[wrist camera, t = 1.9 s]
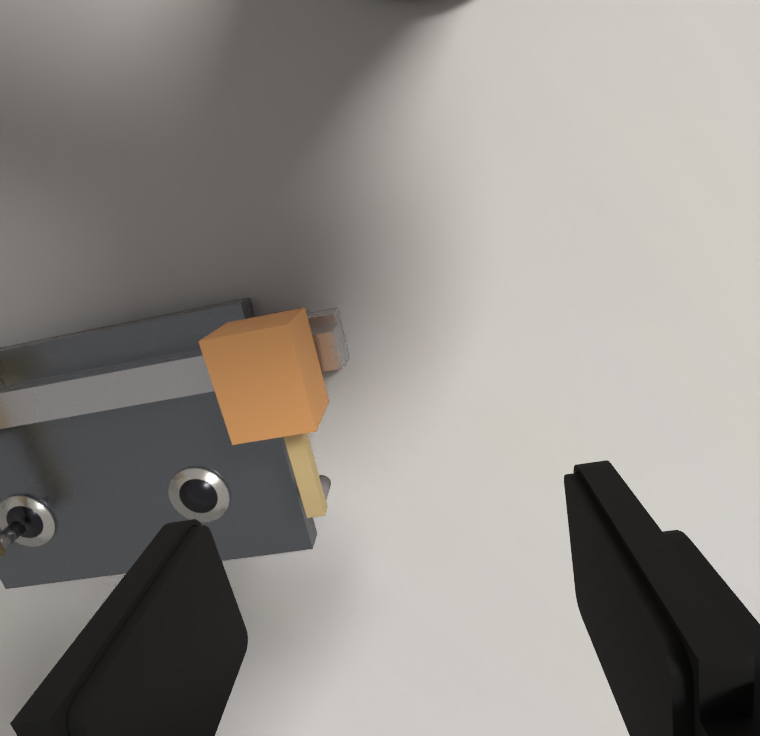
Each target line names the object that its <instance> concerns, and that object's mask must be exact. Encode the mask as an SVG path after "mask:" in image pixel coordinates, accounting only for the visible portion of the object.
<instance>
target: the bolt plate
mask: <svg viewBox="0 0 760 736" xmlns="http://www.w3.org/2000/svg"><path fill="white" fill-rule="evenodd" d="M253 317H255V316H254V312H253V309H252V305H251V302H250V298H247V299H242V300H237V301H232V302H227V303H222V304H217V305H212V306H207V307H202V308H197V309H192V310H187V311H182V312H177V313H172V314H167V315H162V316H157V317H152V318H147V319H142V320H137V321H132V322H127V323H122V324H117V325H112V326H107V327H102V328H97V329H92V330H87V331H82V332H77V333H72V334H67V335H62V336H57V337H52V338H47V339H42V340H37V341H32V342H27V343H22V344H17V345H12V346H7V347H2V348H0V579H1V581H2V583H3V585H4V586H5V588H6V589H9V588H17V587H24V586H32V585H39V584H47V583H55V582H62V581H70V580H77V579H85V578H93V577H100V576H108V575H116V574H123V573H127V572H128V571H129V569H130V568H131V567H132V566H133V564H134V563H135V562H136V560H137V559H138V558H139V557H140V555H141V554H142V553H143V551H144V550H145V549H146V548H147V546H148V545H149V544H150V542H151V541H152V540H153V538H154V537H155V536H156V535H157V533H158V532H159V531H160V529H161V528H162V527H163V526H164V525H165V524H167V523H171V522H178V521H185V520H192V519H196V520H198V521H199V522H200V523H201V524H202V526H203V525H205V526H207V527H208V528H209V529H210V531H211V533H212V536H213V539H214V541H215V544H216V547H217V550H218V552H219V555H220V558H221V561H222V560H230V559H238V558H245V557H253V556H260V555H268V554H276V553H283V552H291V551H298V550H306V549H313V546H314V543H315V539H316V536H317V532H316V528H315V525H314V521H313V518H312V517H311V518H307V516H306V513H305V509H304V506H303V502H302V499H301V495H300V492H299V489H298V485H297V482H296V478H295V475H294V471H293V468H292V465H291V461H290V458H289V454H288V451H287V447H286V444H285V441H284V437H279V438H273V439H266V440H260V441H254V442H248V443H242V444H235V445H232V442H231V439H230V436H229V433H228V430H227V427H226V424H225V421H224V418H223V415H222V412H221V409H220V406H219V403H218V400H217V397H216V394H215V391H214V388H213V384H212V381H211V378H210V375H209V372H208V369H207V366H206V363H205V360H204V357H203V354H202V351H201V348H200V345H199V342H198V341H200V340H201V339H203V338H204V337H206V336H207V335H209V334H210V333H212V332H213V331H215V330H217V329H218V328H220V327H221V326H223V325H224V324H226V323H227V322H232V321H237V320H243V319H248V318H253ZM307 317H308V321H309V325H310V329H311V333H312V337H313V341H314V344H315V348H316V352H317V356H318V360H319V364H320V368H321V372H326V371H332V370H337V369H342V368H343V367H344V366H346V364H347V362H348V360H349V355H348V351H347V347H346V342H345V338H344V334H343V329H342V325H341V321H340V317H339V312H338V308H335V309H329V310H324V311H319V312H314V313H310V314H309V315H308V316H307Z"/></svg>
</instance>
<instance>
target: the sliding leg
mask: <svg viewBox="0 0 760 736" xmlns="http://www.w3.org/2000/svg"><path fill="white" fill-rule="evenodd" d="M198 342H199V345H200V348H201V351H202V354H203V357H204V360H205V363H206V366H207V369H208V372H209V375H210V378H211V381H212V384H213V388H214V391H215V394H216V397H217V400H218V403H219V406H220V409H221V412H222V415H223V418H224V421H225V424H226V427H227V430H228V433H229V436H230V439H231V442H232V445H235V444H242V443H248V442H254V441H260V440H266V439H273V438H279V437H284V441H285V444H286V447H287V451H288V454H289V458H290V461H291V465H292V468H293V471H294V475H295V478H296V482H297V485H298V489H299V492H300V495H301V499H302V502H303V506H304V509H305V513H306V516H307V518H311V517H318V516H325V514H326V510H327V503H326V499H327V495H328V492H329V489H330V485H331V481H330V479H329V478H328V477H326V476H324V475H319V474H318V471H317V467H316V463H315V460H314V456H313V452H312V449H311V445H310V441H309V438H308V434H307V433H310V432H316V431H317V429H318V426H319V424H320V422H321V419H322V417H323V415H324V412H325V410H326V408H327V405H328V403H329V399H328V396H327V392H326V388H325V384H324V380H323V376H322V372H321V368H320V364H319V360H318V356H317V352H316V348H315V344H314V341H313V337H312V333H311V329H310V325H309V321H308V317H307V313H306V309H305V307H304V308H299V309H294V310H289V311H284V312H279V313H273V314H268V315H263V316H258V317H253V318H248V319H243V320H237V321H232V322H227V323H226V324H224V325H223V326H221V327H220V328H218V329H217V330H215V331H213V332H212V333H210V334H209V335H207V336H206V337H204V338H203V339H201V340H200V341H198Z"/></svg>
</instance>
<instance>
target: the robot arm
mask: <svg viewBox="0 0 760 736" xmlns="http://www.w3.org/2000/svg"><path fill="white" fill-rule="evenodd" d="M564 485H565V495H566V504H567V514H568V524H569V533H570V543H571V553H572V562H573V572H574V582H575V591H576V598H577V603H578V607H579V610H580V613H581V616H582V619H583V621H584V624H585V626H586V629H587V631H588V634H589V636H590V638H591V641H592V643H593V646H594V648H595V651H596V653H597V656H598V658H599V661H600V663H601V666H602V668H603V671H604V673H605V676H606V678H607V680H608V683H609V685H610V688H611V690H612V693H613V695H614V698H615V700H616V703H617V705H618V708H619V710H620V713H621V715H622V717H623V720H624V722H625V725H626V727H627V730H628V732H629V735H630V736H760V624H759V623H758V622H757V620H756V619H755V618H754V617H753V616H752V614H751V613H750V612H749V611H748V609H747V608H746V607H745V606H744V605H743V603H742V602H741V601H740V600H739V598H738V597H737V596H736V595H735V594H734V592H733V591H732V590H731V589H730V587H729V586H728V585H727V584H726V583H725V581H724V580H723V579H722V578H721V576H720V575H719V574H718V573H717V572H716V570H715V569H714V568H713V567H712V565H711V564H710V563H709V562H708V561H707V559H706V558H705V557H704V556H703V555H702V553H701V552H700V551H699V550H698V548H697V547H696V546H695V545H694V544H693V542H692V541H691V540H690V539H689V538H688V537H687V536H686V535H685V534H684V533H683V532H681V531H679V530H673V531H665V532H662V531H661V529H660V528H659V527H658V525H657V524H656V523H655V521H654V520H653V519H652V517H651V516H650V515H649V513H648V512H647V511H646V509H645V508H644V507H643V506H642V504H641V503H640V502H639V500H638V499H637V498H636V496H635V495H634V494H633V492H632V491H631V490H630V488H629V487H628V486H627V484H626V483H625V482H624V480H623V479H622V478H621V476H620V475H619V474H618V472H617V471H616V470H615V468H614V467H613V466H612V464H611V463H610V462H609V461H600V462H593V463H586V464H578V465H575V466H574V474H566V475H565V476H564ZM247 644H248V636H247V630H246V627H245V624H244V622H243V619H242V616H241V613H240V611H239V608H238V605H237V602H236V599H235V597H234V594H233V591H232V588H231V586H230V583H229V580H228V577H227V575H226V572H225V569H224V566H223V564H222V561H221V558H220V555H219V552H218V550H217V547H216V544H215V541H214V539H213V536H212V533H211V531H210V529H209V528H208V527H207V526H205V525H203V526H202V524H201V523H200V522H199V521H198V520H196V519H192V520H185V521H178V522H171V523H167V524H165V525H164V526H163V527H162V528H161V529H160V531H159V532H158V533H157V535H156V536H155V537H154V538H153V540H152V541H151V542H150V544H149V545H148V546H147V548H146V549H145V550H144V551H143V553H142V554H141V555H140V557H139V558H138V559H137V560H136V562H135V563H134V564H133V566H132V567H131V568H130V569H129V571H128V572H127V573H126V575H125V576H124V577H123V579H122V580H121V581H120V582H119V584H118V585H117V586H116V588H115V589H114V590H113V591H112V593H111V594H110V595H109V597H108V598H107V599H106V600H105V602H104V603H103V604H102V606H101V607H100V608H99V610H98V611H97V612H96V613H95V615H94V616H93V617H92V619H91V620H90V621H89V622H88V624H87V625H86V626H85V628H84V629H83V630H82V632H81V633H80V634H79V635H78V637H77V638H76V639H75V641H74V642H73V643H72V644H71V646H70V647H69V648H68V650H67V651H66V652H65V653H64V655H63V656H62V657H61V659H60V660H59V661H58V663H57V664H56V665H55V666H54V668H53V669H52V670H51V672H50V673H49V674H48V675H47V677H46V678H45V679H44V681H43V682H42V683H41V684H40V686H39V687H38V688H37V690H36V691H35V692H34V694H33V695H32V696H31V697H30V699H29V700H28V701H27V703H26V704H25V705H24V706H23V708H22V709H21V710H20V712H19V713H18V714H17V716H16V717H15V718H14V719H13V721H12V722H11V723H10V724H11V726H12V727H13V729H14V731H15V732H16V734H17V736H215V733H216V731H217V728H218V725H219V723H220V720H221V717H222V715H223V712H224V709H225V707H226V704H227V701H228V699H229V696H230V693H231V691H232V688H233V685H234V683H235V680H236V677H237V675H238V672H239V669H240V666H241V664H242V661H243V658H244V656H245V653H246V650H247Z"/></svg>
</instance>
